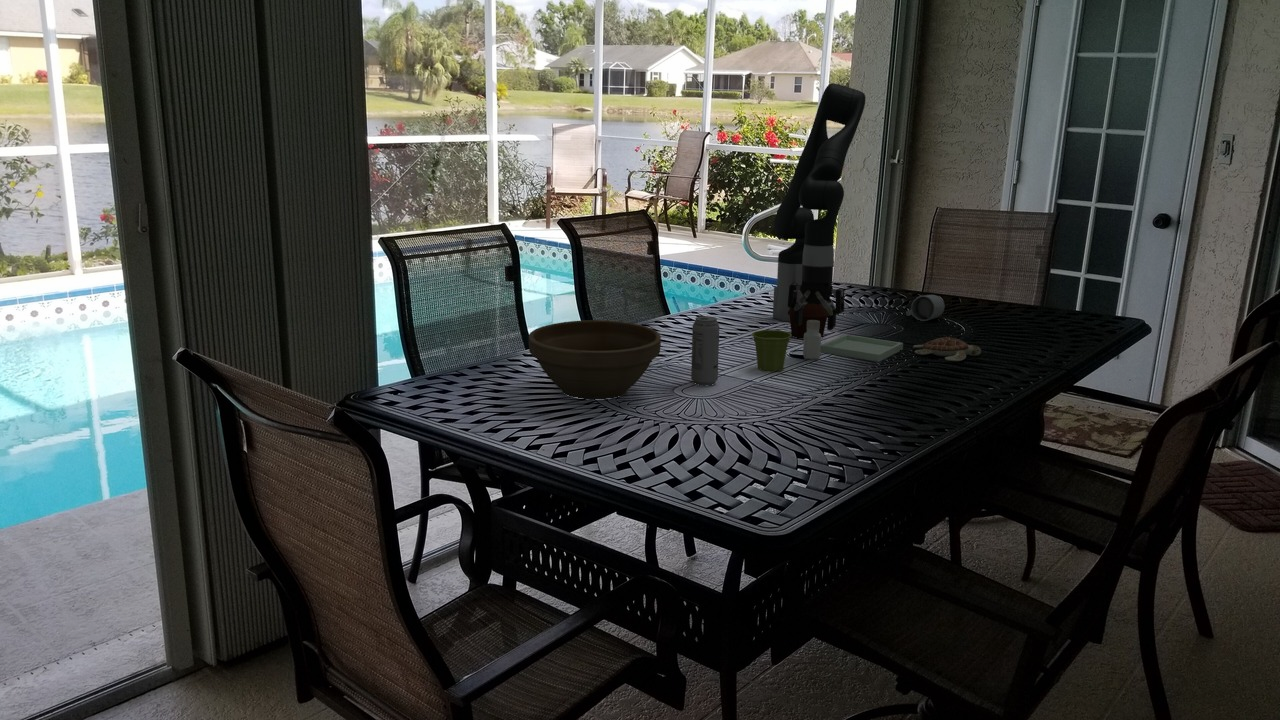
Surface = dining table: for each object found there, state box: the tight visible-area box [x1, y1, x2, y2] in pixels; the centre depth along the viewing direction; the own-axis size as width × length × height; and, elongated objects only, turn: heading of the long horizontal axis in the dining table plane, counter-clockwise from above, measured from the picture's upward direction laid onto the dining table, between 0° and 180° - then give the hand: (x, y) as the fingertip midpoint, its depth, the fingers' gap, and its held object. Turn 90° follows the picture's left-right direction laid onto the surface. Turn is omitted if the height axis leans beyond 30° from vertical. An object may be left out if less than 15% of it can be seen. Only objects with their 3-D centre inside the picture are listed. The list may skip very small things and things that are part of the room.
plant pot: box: [751, 329, 793, 373], centre depth 225 cm, size 9×9×9 cm
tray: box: [820, 333, 904, 363], centre depth 244 cm, size 16×16×2 cm
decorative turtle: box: [912, 336, 982, 362], centre depth 241 cm, size 18×17×5 cm
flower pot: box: [528, 319, 662, 399], centre depth 204 cm, size 28×28×13 cm
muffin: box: [788, 302, 829, 339], centre depth 259 cm, size 12×11×10 cm
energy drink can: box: [690, 315, 720, 386], centre depth 212 cm, size 6×6×15 cm
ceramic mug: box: [905, 294, 946, 322], centre depth 284 cm, size 11×8×8 cm
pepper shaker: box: [802, 320, 822, 361], centre depth 235 cm, size 4×4×10 cm
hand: (814, 327), depth 234 cm, fingers open, 8 cm apart
